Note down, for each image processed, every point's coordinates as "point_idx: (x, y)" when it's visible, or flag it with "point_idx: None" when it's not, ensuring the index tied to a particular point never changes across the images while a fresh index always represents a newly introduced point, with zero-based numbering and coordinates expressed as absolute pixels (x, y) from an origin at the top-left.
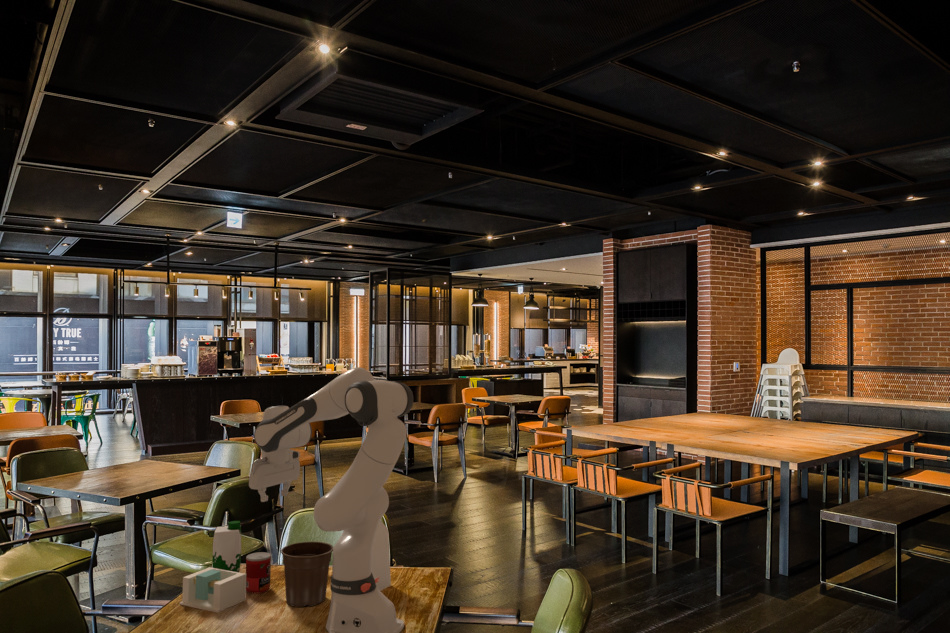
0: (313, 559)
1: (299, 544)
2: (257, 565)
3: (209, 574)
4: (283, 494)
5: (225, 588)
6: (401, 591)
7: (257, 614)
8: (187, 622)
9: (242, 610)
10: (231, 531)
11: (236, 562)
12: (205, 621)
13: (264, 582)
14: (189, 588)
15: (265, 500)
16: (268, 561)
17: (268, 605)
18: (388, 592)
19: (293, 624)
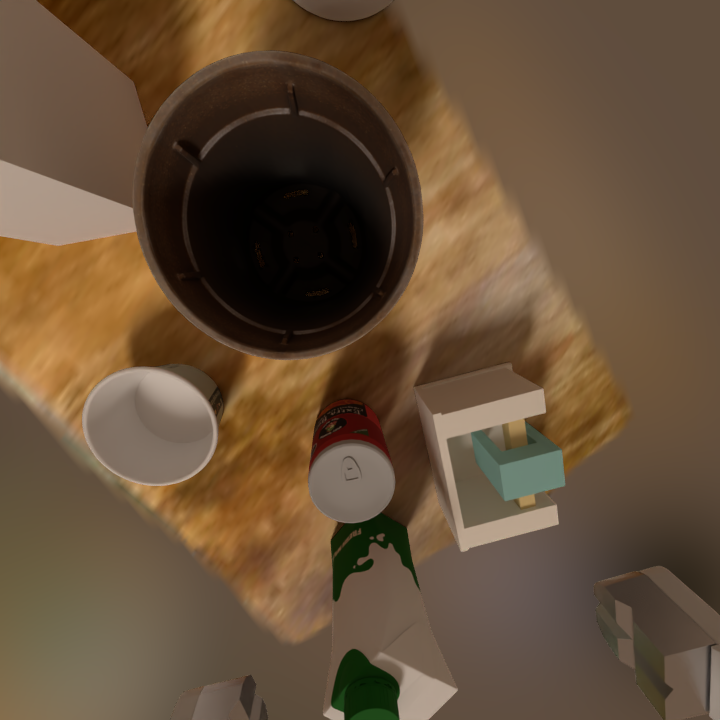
0: (334, 90)
1: (253, 343)
2: (377, 440)
3: (539, 462)
4: (249, 714)
5: (509, 388)
6: None
7: (458, 268)
8: (584, 364)
9: (463, 326)
10: (404, 662)
11: (367, 548)
12: (558, 335)
13: (350, 407)
14: None
15: (659, 576)
16: (336, 437)
17: (400, 301)
18: None
19: (445, 111)
